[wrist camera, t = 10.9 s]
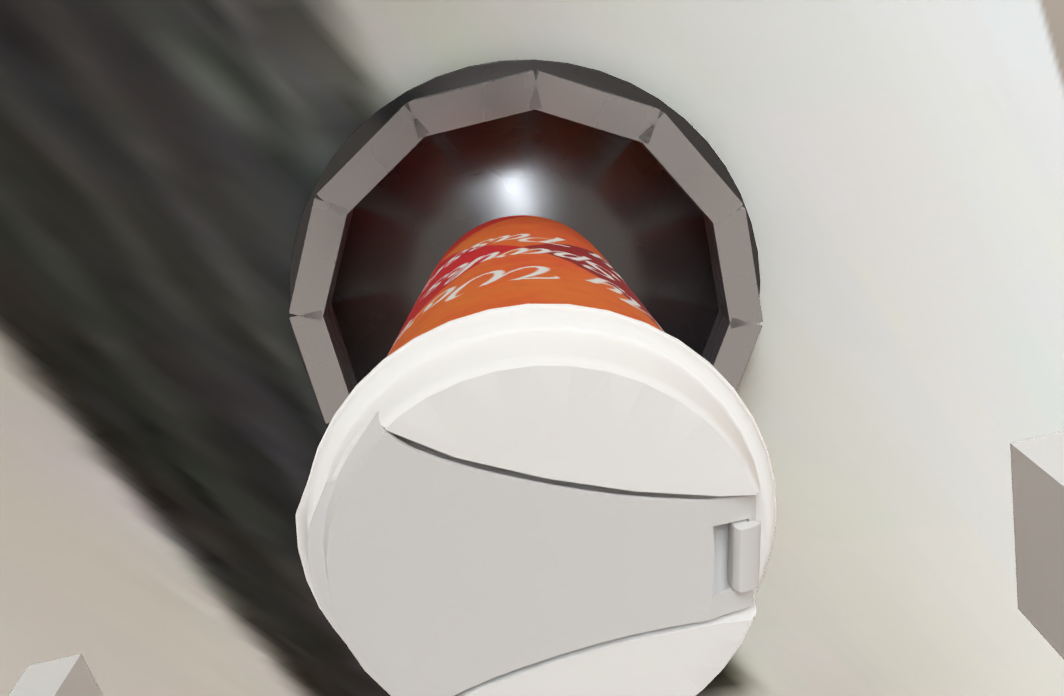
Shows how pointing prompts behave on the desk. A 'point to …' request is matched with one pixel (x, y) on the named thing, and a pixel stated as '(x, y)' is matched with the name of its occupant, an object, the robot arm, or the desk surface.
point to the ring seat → (520, 210)
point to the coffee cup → (538, 488)
